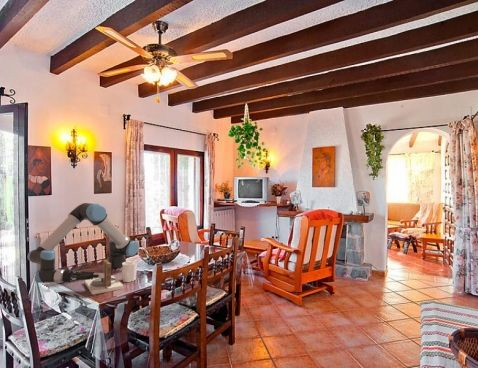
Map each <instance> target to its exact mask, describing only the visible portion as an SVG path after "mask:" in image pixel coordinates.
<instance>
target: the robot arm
mask: <svg viewBox="0 0 478 368" xmlns="http://www.w3.org/2000/svg"><path fill="white" fill-rule="evenodd" d="M83 221H89V223H90V224H91V225H93V226H95V227H96V226H97V227H98V228H99V229H100V230H101V231H102V232H103V233H104V234H105V235H106V236H107V237H108V238H109V240H108V257H107V261H109V262H110V263H111V269H122V268H121V267H122V263H123V262H127V259H126V256H127V257H134V256H135V255H136V254H137V253H138V251H139V247H140V246H139V243H138V241H136V240H133V239H131V238H130V236H128V235H125V234H124V233H123V232H122V231H121V230H120V229H119V228H118V227H117V226H116V225H115V224H114V223H113V222H112V221H111V220H110V218H109V217H108V213H107V209H106V208H105V206H103V205H102V204H99V203H90V202H84V203H81V204H78V205H77V206H76V207H75V208H73V210H71V211H70V212H69V213H68V214H67V217H66V219H65V220H64V221H63V222H61V224H60V225H58V227H57V228H56V229H55V230H54V231H53V232H52V233H51V234H50V235H48V237H47V238H46V239H45V240H44V241H43V242H42V243H41V244H40V245H39V246H38V247H37V248H36V249H33V250H30V251H29V252H28V254H27V256H26V257H27V260H28V261H30V262H31V263H33V264H37V265H39V269H38V270H37V271H36V272H35V275H34V282H36V283H40V284H51V283H58V284H61V283H71V282H77V281H85V280H90V279H91V280H93V279H96V278H105V273H103V272H95V271H85V270H79V271H78V272H75V273H74V272H73V269H56V251H55V250H54V249H55V248H57V246H58V245H59V244H60V243H61V241H63V240H64V238H65V237H66V236H67V235H68V234H69V233H70V232H71V231H72V230H73V229H74V228H75V227H76V226H77V225H79V224H81V223H82V222H83Z"/></svg>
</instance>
